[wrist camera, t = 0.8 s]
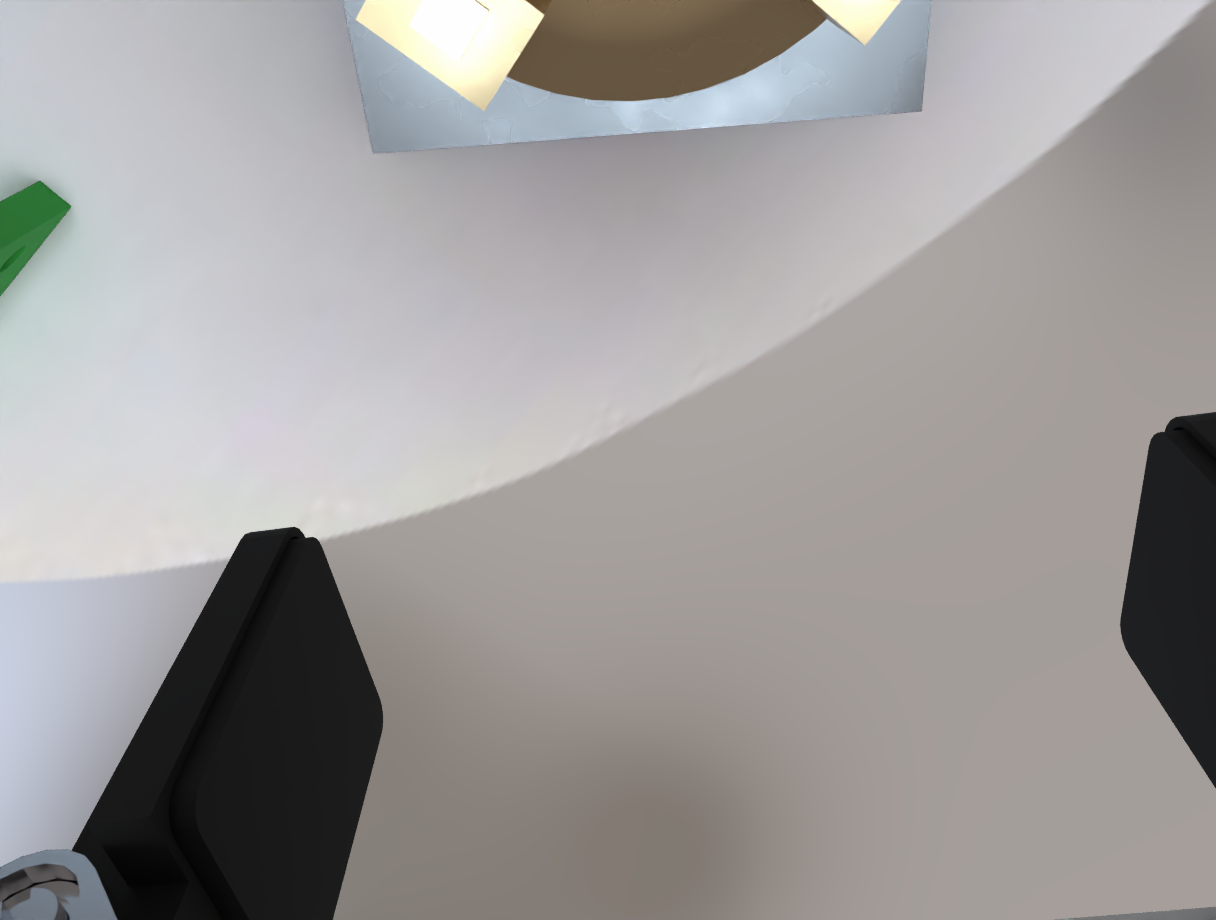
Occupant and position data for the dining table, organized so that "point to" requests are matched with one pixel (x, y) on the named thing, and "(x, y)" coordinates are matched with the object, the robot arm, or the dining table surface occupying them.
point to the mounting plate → (773, 92)
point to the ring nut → (605, 41)
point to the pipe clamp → (26, 227)
